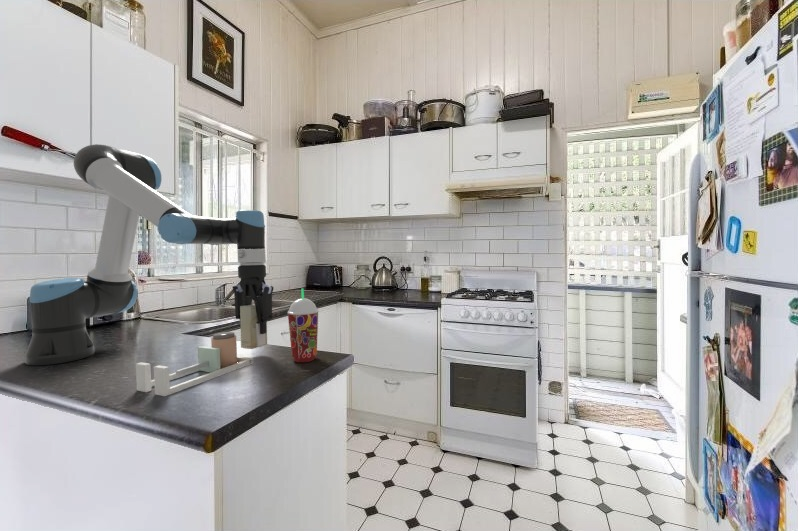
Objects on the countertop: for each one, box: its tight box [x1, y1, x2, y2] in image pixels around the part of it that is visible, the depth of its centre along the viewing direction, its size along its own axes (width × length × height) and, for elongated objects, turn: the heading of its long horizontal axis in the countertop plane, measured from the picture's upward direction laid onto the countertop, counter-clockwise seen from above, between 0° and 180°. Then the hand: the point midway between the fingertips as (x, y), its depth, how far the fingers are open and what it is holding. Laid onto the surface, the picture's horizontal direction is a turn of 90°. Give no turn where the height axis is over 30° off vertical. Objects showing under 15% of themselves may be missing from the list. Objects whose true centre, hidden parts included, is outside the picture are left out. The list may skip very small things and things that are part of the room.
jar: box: [210, 331, 238, 369], centre depth 97 cm, size 6×6×9 cm
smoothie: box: [287, 288, 319, 363], centre depth 102 cm, size 8×8×20 cm
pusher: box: [175, 345, 220, 375], centre depth 89 cm, size 7×9×6 cm
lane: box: [135, 355, 253, 397], centre depth 91 cm, size 10×24×6 cm, turn 156°
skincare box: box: [239, 303, 268, 350], centre depth 107 cm, size 6×4×12 cm
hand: (254, 343), depth 107 cm, fingers closed on skincare box, 4 cm apart
